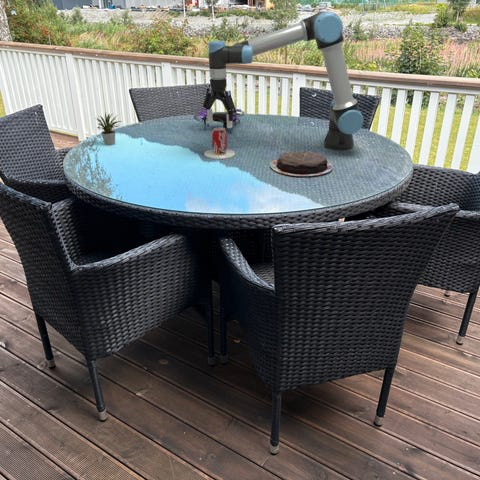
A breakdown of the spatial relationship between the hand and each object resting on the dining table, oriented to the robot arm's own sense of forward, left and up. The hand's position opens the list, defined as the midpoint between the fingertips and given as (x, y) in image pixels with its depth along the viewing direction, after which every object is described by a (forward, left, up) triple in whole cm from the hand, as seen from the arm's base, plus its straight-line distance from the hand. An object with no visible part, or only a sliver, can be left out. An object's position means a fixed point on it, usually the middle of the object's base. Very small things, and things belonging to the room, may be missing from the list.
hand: (219, 125), depth 217 cm
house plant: (+54, +29, -14) cm, 63 cm away
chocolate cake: (-40, -13, -15) cm, 44 cm away
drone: (+38, -34, -15) cm, 53 cm away
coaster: (0, 0, -14) cm, 14 cm away
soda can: (0, 0, -14) cm, 14 cm away
